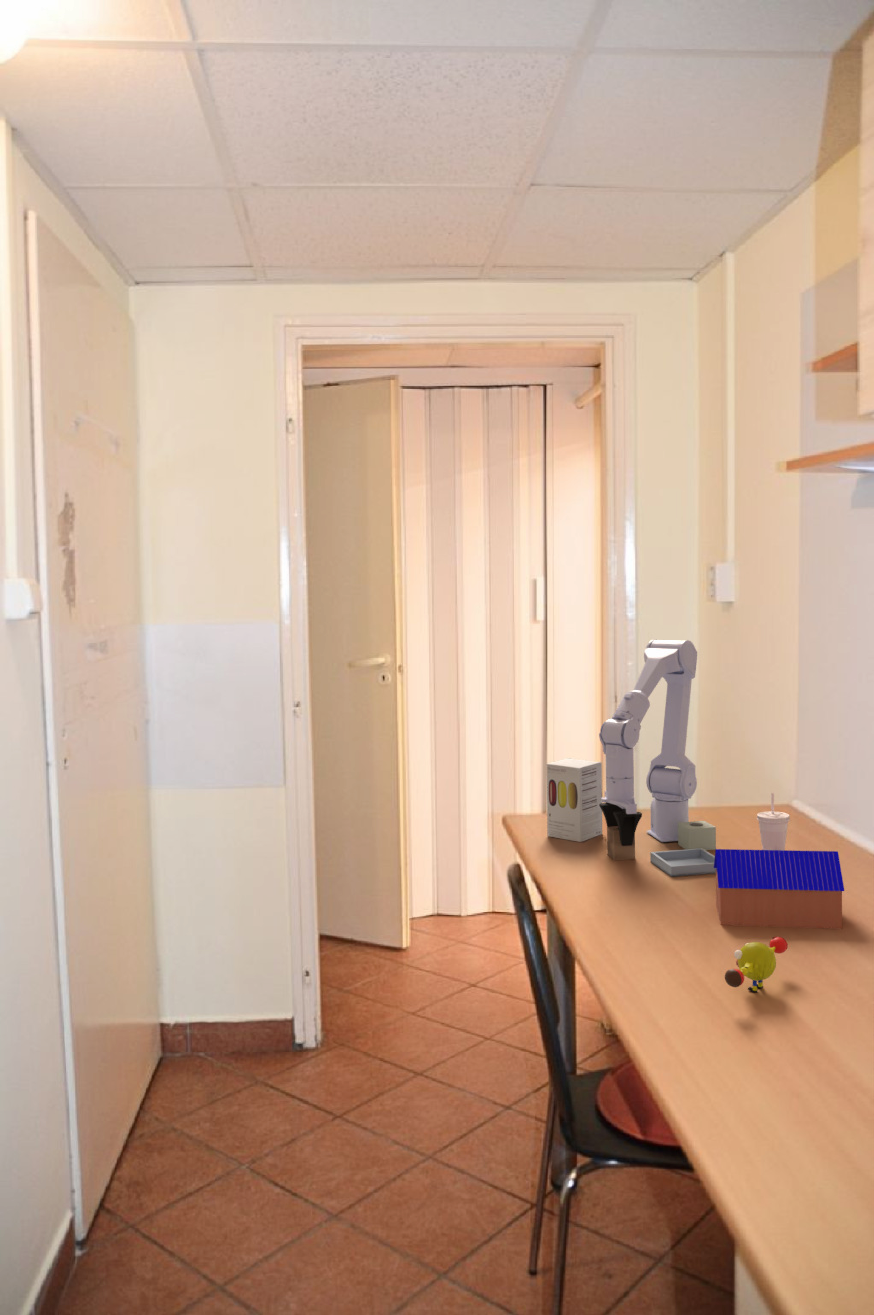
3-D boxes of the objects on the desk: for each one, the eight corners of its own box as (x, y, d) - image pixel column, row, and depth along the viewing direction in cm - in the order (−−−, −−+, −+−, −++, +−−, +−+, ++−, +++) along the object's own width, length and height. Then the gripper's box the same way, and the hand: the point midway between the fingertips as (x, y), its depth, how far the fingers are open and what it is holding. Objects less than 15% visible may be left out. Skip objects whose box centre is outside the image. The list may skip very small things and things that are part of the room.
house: (714, 904, 190) (713, 840, 189) (831, 907, 186) (831, 842, 185) (718, 926, 178) (718, 858, 178) (844, 930, 175) (844, 861, 174)
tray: (650, 861, 218) (650, 852, 218) (702, 857, 220) (702, 848, 220) (671, 876, 207) (671, 866, 207) (725, 872, 209) (725, 862, 209)
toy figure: (762, 966, 160) (762, 922, 159) (798, 974, 156) (798, 929, 156) (709, 1006, 146) (709, 957, 145) (748, 1015, 142) (748, 966, 142)
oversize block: (678, 845, 231) (677, 822, 231) (704, 843, 232) (704, 820, 232) (689, 852, 225) (688, 828, 225) (716, 850, 226) (715, 826, 226)
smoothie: (786, 857, 218) (785, 790, 217) (793, 866, 212) (793, 796, 211) (754, 857, 219) (753, 790, 218) (760, 866, 212) (760, 797, 211)
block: (607, 855, 225) (606, 826, 224) (627, 853, 225) (627, 825, 225) (614, 860, 220) (613, 831, 220) (635, 859, 221) (634, 830, 220)
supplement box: (546, 836, 241) (544, 763, 240) (568, 828, 248) (567, 757, 247) (581, 842, 235) (580, 767, 234) (604, 834, 242) (602, 761, 241)
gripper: (590, 771, 228) (591, 834, 229) (612, 784, 214) (613, 850, 215) (622, 769, 229) (623, 832, 230) (646, 782, 215) (647, 848, 216)
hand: (620, 841), depth 222 cm, fingers open, 7 cm apart
